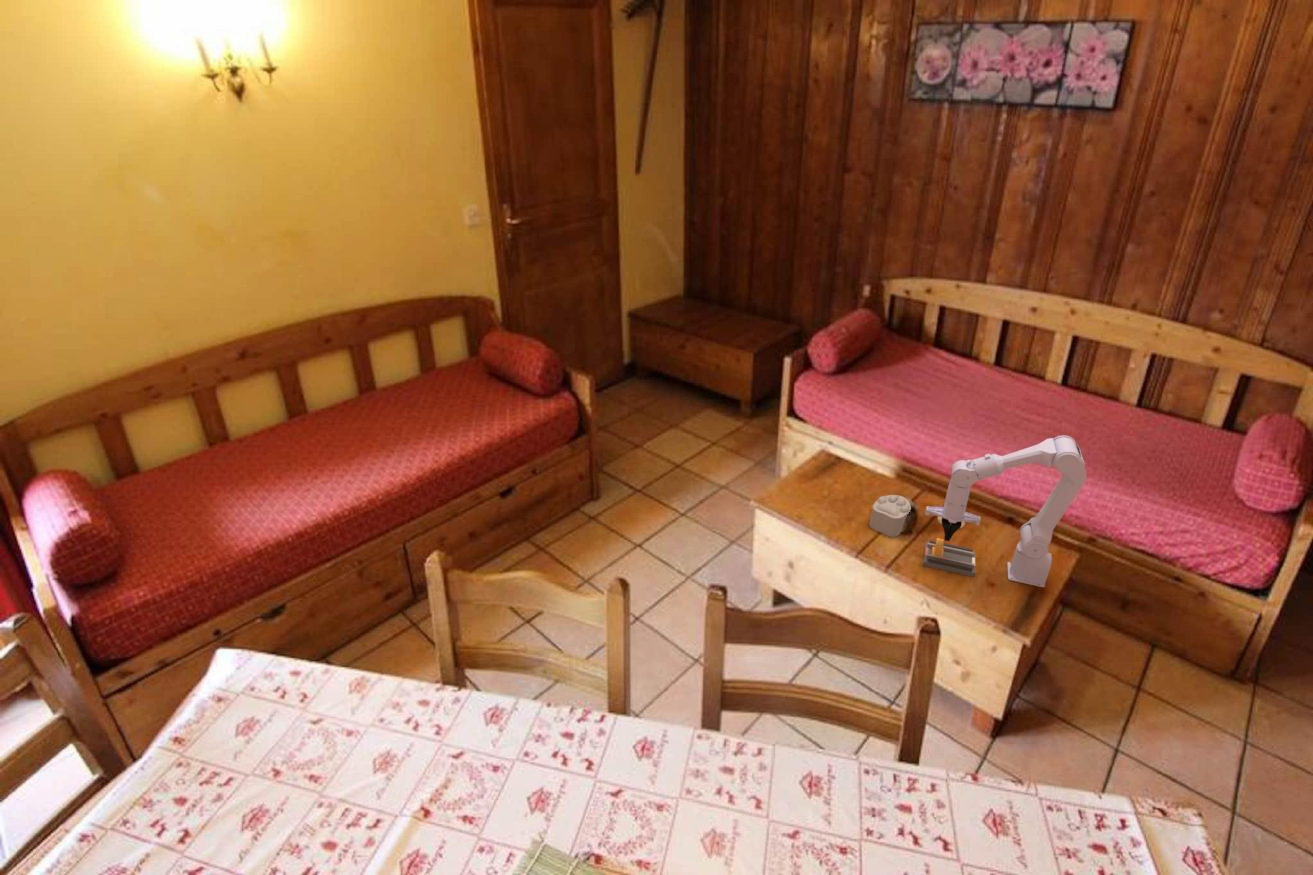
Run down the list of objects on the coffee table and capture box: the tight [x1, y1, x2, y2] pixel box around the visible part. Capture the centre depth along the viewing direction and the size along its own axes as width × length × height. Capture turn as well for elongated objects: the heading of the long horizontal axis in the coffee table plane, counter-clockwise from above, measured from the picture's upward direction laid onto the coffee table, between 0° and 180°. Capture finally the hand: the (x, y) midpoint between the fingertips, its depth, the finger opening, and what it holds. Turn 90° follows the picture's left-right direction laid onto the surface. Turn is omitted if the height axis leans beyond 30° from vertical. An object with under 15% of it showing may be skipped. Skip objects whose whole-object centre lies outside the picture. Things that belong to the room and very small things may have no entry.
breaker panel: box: [922, 539, 976, 578], centre depth 212 cm, size 14×10×3 cm
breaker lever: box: [932, 537, 945, 557], centre depth 212 cm, size 3×4×4 cm
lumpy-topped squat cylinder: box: [869, 494, 912, 538], centre depth 227 cm, size 10×13×9 cm
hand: (947, 538), depth 210 cm, fingers closed
